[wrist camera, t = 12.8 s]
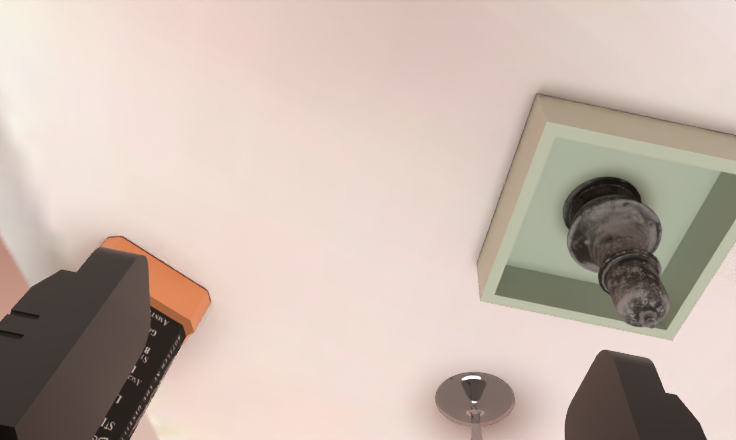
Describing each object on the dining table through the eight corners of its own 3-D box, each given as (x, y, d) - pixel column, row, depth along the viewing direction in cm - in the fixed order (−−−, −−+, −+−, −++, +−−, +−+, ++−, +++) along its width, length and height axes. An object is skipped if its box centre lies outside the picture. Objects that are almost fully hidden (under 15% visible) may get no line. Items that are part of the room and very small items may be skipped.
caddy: (536, 93, 38) (546, 121, 35) (748, 138, 39) (781, 170, 35) (476, 263, 46) (479, 300, 42) (653, 299, 46) (672, 340, 42)
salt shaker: (665, 198, 41) (738, 316, 31) (606, 256, 44) (656, 381, 34) (595, 157, 40) (648, 266, 30) (540, 220, 43) (571, 338, 33)
